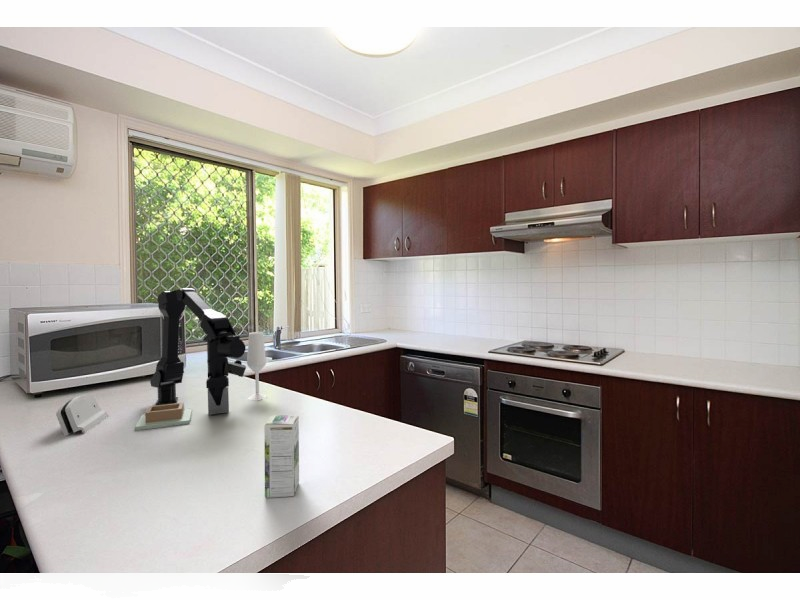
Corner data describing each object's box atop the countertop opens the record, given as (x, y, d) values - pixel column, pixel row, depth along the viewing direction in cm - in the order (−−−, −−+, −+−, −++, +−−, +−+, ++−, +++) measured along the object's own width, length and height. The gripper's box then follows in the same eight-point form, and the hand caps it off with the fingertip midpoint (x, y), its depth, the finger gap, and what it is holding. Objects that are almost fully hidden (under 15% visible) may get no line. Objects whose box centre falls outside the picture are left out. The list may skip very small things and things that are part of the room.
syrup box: (271, 484, 85) (269, 414, 85) (300, 483, 86) (298, 413, 85) (264, 498, 80) (262, 424, 79) (295, 497, 80) (294, 423, 80)
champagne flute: (247, 396, 154) (245, 332, 153) (265, 394, 156) (264, 331, 156) (248, 401, 148) (246, 334, 147) (268, 399, 150) (266, 333, 149)
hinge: (84, 434, 117) (69, 401, 115) (66, 441, 115) (50, 409, 114) (109, 416, 133) (95, 387, 131) (93, 422, 132) (79, 393, 130)
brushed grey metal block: (208, 410, 134) (207, 386, 134) (228, 408, 136) (228, 384, 136) (208, 414, 130) (207, 389, 130) (228, 411, 133) (228, 387, 133)
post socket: (142, 417, 131) (142, 404, 131) (192, 411, 136) (191, 399, 136) (135, 430, 119) (134, 416, 119) (189, 423, 124) (189, 410, 124)
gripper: (245, 358, 127) (246, 408, 128) (242, 349, 145) (243, 393, 145) (205, 361, 123) (207, 413, 124) (207, 351, 140) (208, 397, 141)
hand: (218, 403), depth 133 cm, fingers closed on brushed grey metal block, 4 cm apart
